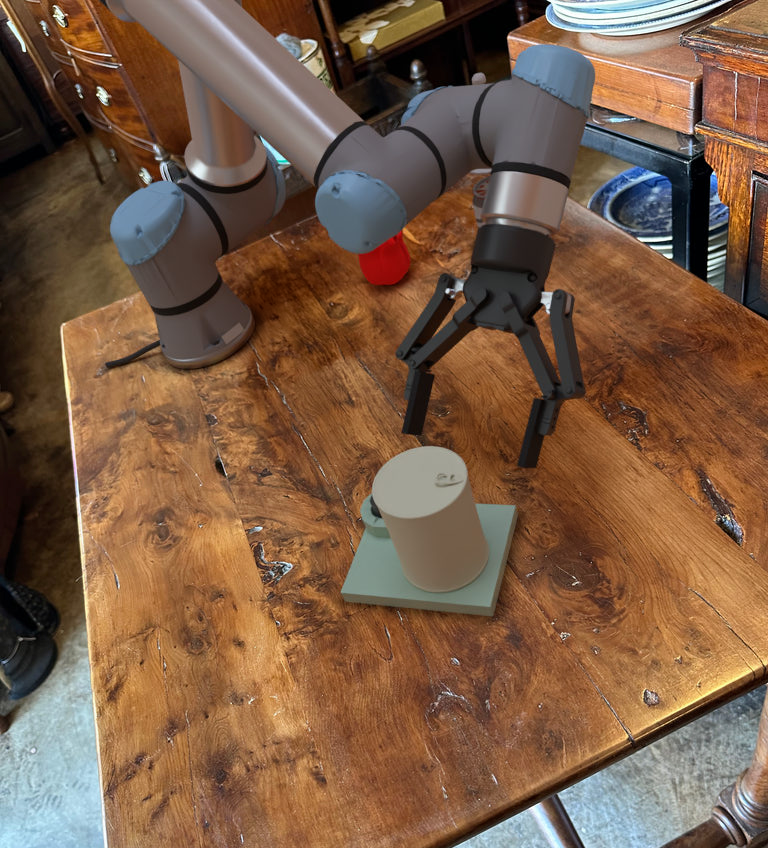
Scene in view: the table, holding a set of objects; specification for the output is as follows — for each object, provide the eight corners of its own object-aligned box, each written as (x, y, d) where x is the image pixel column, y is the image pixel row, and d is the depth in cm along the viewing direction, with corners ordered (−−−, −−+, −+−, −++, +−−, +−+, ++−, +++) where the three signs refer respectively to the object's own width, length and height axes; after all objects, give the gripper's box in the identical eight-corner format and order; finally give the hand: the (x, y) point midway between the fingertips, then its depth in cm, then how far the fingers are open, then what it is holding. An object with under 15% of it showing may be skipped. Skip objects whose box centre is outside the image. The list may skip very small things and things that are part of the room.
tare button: (370, 518, 86) (366, 507, 84) (378, 497, 87) (374, 486, 86) (396, 519, 84) (392, 508, 83) (404, 498, 86) (400, 487, 85)
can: (484, 593, 77) (459, 513, 68) (394, 593, 80) (360, 516, 71) (494, 521, 82) (472, 438, 74) (409, 523, 85) (380, 444, 77)
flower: (424, 271, 122) (412, 224, 116) (391, 299, 119) (376, 252, 113) (389, 261, 127) (375, 216, 121) (356, 288, 124) (340, 242, 118)
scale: (341, 601, 83) (330, 581, 81) (378, 505, 91) (369, 485, 88) (493, 616, 77) (487, 596, 74) (519, 512, 85) (514, 490, 82)
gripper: (658, 254, 71) (596, 482, 75) (431, 230, 84) (389, 424, 89) (631, 233, 65) (565, 483, 69) (390, 210, 78) (348, 420, 82)
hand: (466, 450), depth 79 cm, fingers open, 13 cm apart
